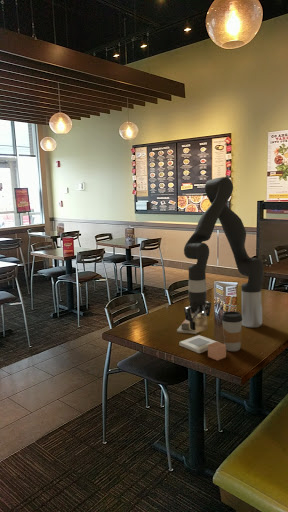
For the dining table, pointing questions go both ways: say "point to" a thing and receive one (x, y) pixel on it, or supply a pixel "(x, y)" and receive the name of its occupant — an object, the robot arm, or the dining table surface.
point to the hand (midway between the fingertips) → (198, 327)
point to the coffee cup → (232, 330)
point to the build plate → (197, 343)
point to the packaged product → (185, 328)
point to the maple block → (200, 323)
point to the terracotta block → (217, 351)
